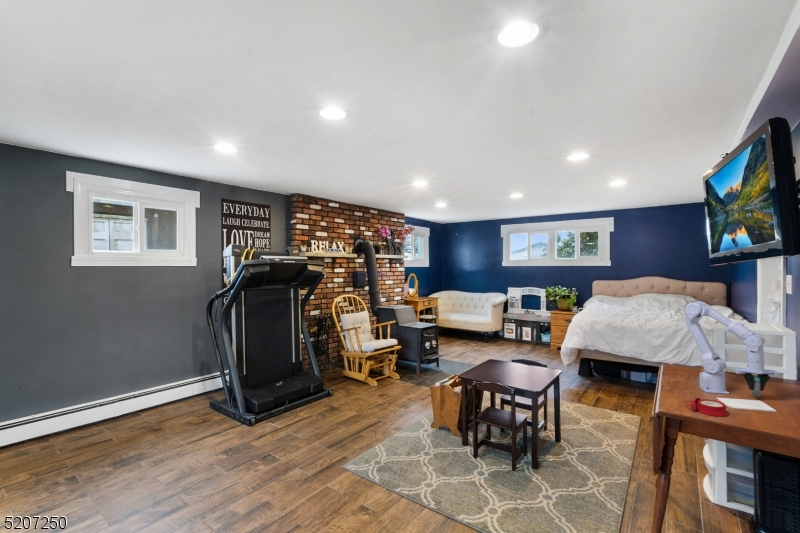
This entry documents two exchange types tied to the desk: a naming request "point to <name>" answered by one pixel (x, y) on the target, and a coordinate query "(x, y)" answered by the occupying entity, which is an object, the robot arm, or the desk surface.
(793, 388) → the desk surface
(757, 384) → the marker
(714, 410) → the alarm clock
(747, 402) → the notepad
